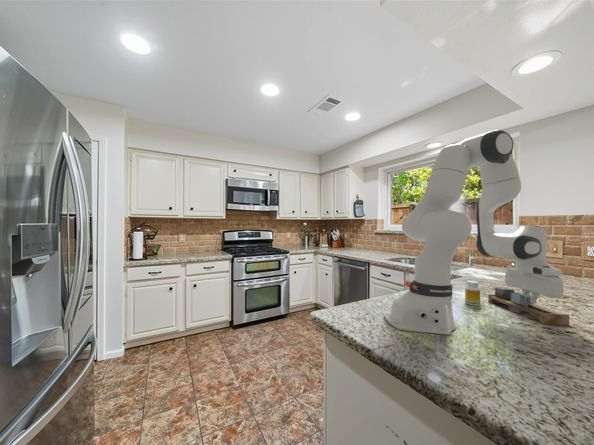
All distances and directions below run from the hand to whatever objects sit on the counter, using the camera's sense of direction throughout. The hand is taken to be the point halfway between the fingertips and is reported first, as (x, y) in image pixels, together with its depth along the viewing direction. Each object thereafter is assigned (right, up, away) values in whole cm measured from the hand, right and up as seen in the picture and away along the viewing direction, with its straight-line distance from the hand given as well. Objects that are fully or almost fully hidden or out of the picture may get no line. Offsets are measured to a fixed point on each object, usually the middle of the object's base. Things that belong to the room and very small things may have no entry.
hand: (530, 302), depth 94 cm
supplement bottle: (-14, -5, +12) cm, 19 cm away
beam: (0, -5, +3) cm, 5 cm away
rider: (0, -2, +4) cm, 4 cm away
